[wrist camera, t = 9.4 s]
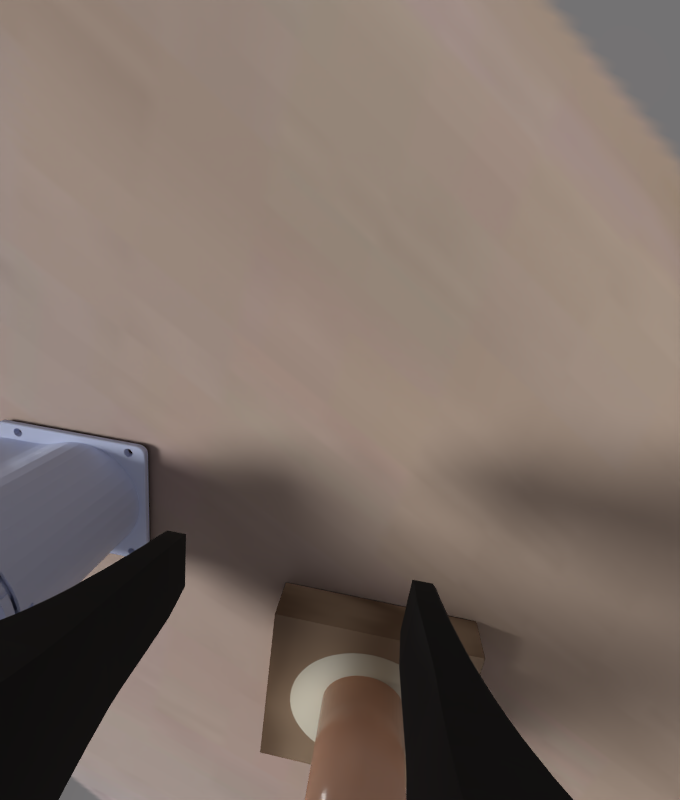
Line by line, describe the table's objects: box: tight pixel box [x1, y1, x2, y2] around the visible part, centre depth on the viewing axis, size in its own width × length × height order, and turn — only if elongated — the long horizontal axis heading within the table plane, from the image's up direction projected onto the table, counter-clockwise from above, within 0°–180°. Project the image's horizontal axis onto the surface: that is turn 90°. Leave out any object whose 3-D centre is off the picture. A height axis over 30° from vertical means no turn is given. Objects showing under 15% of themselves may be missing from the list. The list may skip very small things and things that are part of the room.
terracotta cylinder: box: [305, 676, 406, 800], centre depth 22 cm, size 5×5×6 cm
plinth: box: [260, 583, 485, 771], centre depth 26 cm, size 12×12×2 cm
